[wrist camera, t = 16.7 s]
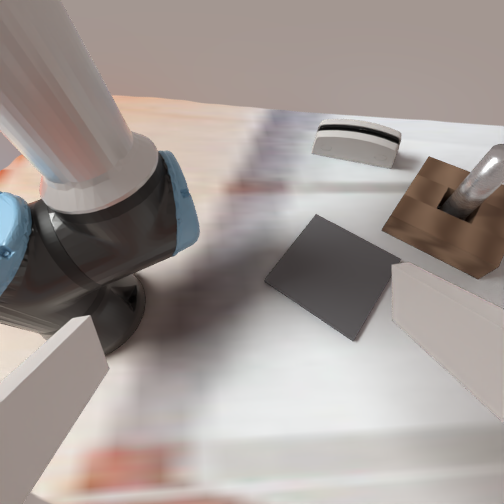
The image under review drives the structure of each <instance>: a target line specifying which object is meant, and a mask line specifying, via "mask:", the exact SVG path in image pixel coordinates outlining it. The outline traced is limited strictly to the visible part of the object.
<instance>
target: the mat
mask: <svg viewBox="0 0 504 504" xmlns="http://www.w3.org/2000/svg"><path fill="white" fill-rule="evenodd" d="M400 260H401V259H400V258H398V257H396V256H394V255H392V254H390V253H388V252H387V251H385V250H383V249H381V248H379V247H377V246H375V245H373V244H371V243H370V242H368V241H366V240H364V239H362V238H360V237H358V236H356V235H355V234H353V233H351V232H349V231H347V230H345V229H343V228H341V227H339V226H338V225H336V224H334V223H332V222H330V221H328V220H326V219H324V218H322V217H321V216H319V215H317V214H316V215H315V216H314V218H313V219H312V220H311V221H310V223H309V224H308V225H307V226H306V228H305V229H304V230H303V231H302V233H301V234H300V235H299V237H298V238H297V239H296V240H295V242H294V243H293V244H292V245H291V247H290V248H289V249H288V251H287V252H286V253H285V254H284V256H283V257H282V258H281V259H280V261H279V262H278V263H277V264H276V266H275V267H274V268H273V270H272V271H271V272H270V273H269V275H268V276H267V277H266V278H265V282H266V283H268V284H269V285H271V286H272V287H273V288H275V289H276V290H278V291H279V292H281V293H282V294H284V295H285V296H287V297H288V298H290V299H291V300H293V301H294V302H296V303H297V304H299V305H300V306H302V307H303V308H305V309H306V310H307V311H309V312H310V313H312V314H313V315H315V316H316V317H318V318H319V319H321V320H322V321H324V322H325V323H327V324H328V325H330V326H331V327H333V328H334V329H336V330H337V331H339V332H340V333H341V334H343V335H344V336H346V337H347V338H349V339H350V340H352V341H354V339H355V338H356V336H357V334H358V333H359V331H360V329H361V327H362V326H363V324H364V322H365V320H366V319H367V317H368V315H369V314H370V312H371V310H372V308H373V307H374V305H375V303H376V302H377V300H378V298H379V296H380V295H381V293H382V291H383V290H384V288H385V286H386V284H387V283H388V281H389V279H390V278H391V276H392V265H393V264H399V262H400Z"/></svg>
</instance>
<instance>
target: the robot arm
mask: <svg viewBox="0 0 504 504" xmlns="http://www.w3.org/2000/svg"><path fill="white" fill-rule="evenodd" d="M0 131H1V133H2V134H3V135H4V136H5V137H6V138H7V139H8V140H9V141H10V142H11V143H12V144H13V145H14V146H15V147H16V148H17V149H18V150H19V151H20V152H21V153H22V154H23V155H24V157H25V158H26V159H27V160H28V161H29V162H30V163H31V164H32V165H33V166H34V167H35V168H36V169H37V170H38V171H39V172H40V173H41V174H42V177H41V182H40V189H39V192H40V197H41V198H42V199H40V200H38V201H35V202H32V203H29V204H27V202H26V201H25V200H24V199H23V198H21V197H19V196H16V195H13V194H11V193H6V192H4V193H3V192H0V323H1V324H5V325H9V326H13V327H17V328H20V329H24V330H28V331H32V332H36V333H39V334H40V335H42V336H43V337H44V338H45V339H46V340H47V341H46V342H45V343H44V344H43V345H41V346H40V347H39V348H38V349H37V350H36V351H35V352H34V353H32V354H31V355H30V356H29V357H28V358H27V359H26V360H25V361H23V362H22V363H21V364H20V365H19V366H18V367H17V368H15V369H14V370H13V371H12V372H11V373H10V374H9V375H8V376H6V377H5V378H4V379H3V380H2V381H1V382H0V504H23V503H24V501H25V499H26V498H27V496H28V495H29V493H30V492H31V490H32V489H33V487H34V486H35V484H36V483H37V481H38V479H39V478H40V476H41V475H42V473H43V472H44V470H45V469H46V467H47V465H48V464H49V462H50V461H51V459H52V458H53V456H54V455H55V453H56V451H57V450H58V448H59V447H60V445H61V444H62V442H63V441H64V439H65V437H66V436H67V434H68V433H69V431H70V430H71V428H72V427H73V425H74V423H75V422H76V420H77V419H78V417H79V416H80V414H81V412H82V411H83V409H84V408H85V406H86V405H87V403H88V402H89V400H90V398H91V397H92V395H93V394H94V392H95V391H96V389H97V388H98V386H99V384H100V383H101V381H102V380H103V378H104V377H105V375H106V374H107V372H108V370H109V366H108V363H107V360H106V358H105V355H106V354H108V353H110V352H112V351H114V350H115V349H117V348H118V347H120V346H121V345H122V344H123V343H125V342H126V341H127V340H128V339H129V338H130V336H131V335H132V334H133V333H134V331H135V330H136V328H137V327H138V325H139V323H140V321H141V319H142V316H143V313H144V308H145V293H144V289H143V286H142V284H141V283H140V281H139V280H138V279H137V277H135V276H134V275H133V273H135V272H138V271H140V270H142V269H145V268H147V267H149V266H151V265H154V264H156V263H158V262H160V261H163V260H165V259H167V258H170V257H173V256H175V255H176V254H177V253H178V252H180V251H182V250H184V249H186V248H188V247H189V246H191V245H193V244H194V243H195V242H196V241H197V240H198V237H199V233H200V229H199V222H198V217H197V214H196V210H195V206H194V203H193V200H192V197H191V195H190V193H189V190H188V187H187V183H186V180H185V178H184V175H183V173H182V170H181V168H180V166H179V164H178V162H177V160H176V158H175V157H174V155H173V154H172V153H171V152H170V151H157V148H156V146H155V145H154V143H153V142H152V141H151V140H150V139H149V138H147V137H146V136H144V135H141V134H138V133H135V132H132V131H130V129H129V127H128V126H127V124H126V122H125V120H124V118H123V116H122V114H121V112H120V111H119V109H118V107H117V105H116V103H115V101H114V99H113V97H112V96H111V94H110V92H109V90H108V88H107V86H106V84H105V83H104V81H103V79H102V77H101V75H100V73H99V71H98V69H97V67H96V66H95V64H94V62H93V60H92V58H91V56H90V54H89V52H88V51H87V49H86V47H85V45H84V43H83V41H82V39H81V37H80V35H79V34H78V32H77V30H76V28H75V26H74V24H73V22H72V20H71V19H70V17H69V15H68V13H67V11H66V9H65V7H64V6H63V4H62V2H61V0H0ZM392 321H393V322H394V323H395V324H396V325H398V326H399V327H400V328H401V329H402V330H403V331H404V332H405V333H406V334H407V335H408V336H409V337H411V338H412V339H413V340H414V341H415V342H416V343H417V344H418V345H419V346H420V347H421V348H423V349H424V350H425V351H426V352H427V353H428V354H429V355H430V356H431V357H432V358H433V359H434V360H436V361H437V362H438V363H439V364H440V365H441V366H442V367H443V368H444V369H445V370H446V371H448V372H449V373H450V374H451V375H452V376H453V377H454V378H455V379H456V380H457V381H458V382H459V383H461V384H462V385H463V386H464V387H465V388H466V389H467V390H468V391H469V392H470V393H471V394H472V395H474V396H475V397H476V398H477V399H478V400H479V401H480V402H481V403H482V404H483V405H484V406H486V407H487V408H488V409H489V410H490V411H491V412H492V413H493V414H494V415H495V416H496V417H497V418H499V419H500V420H501V421H502V422H503V423H504V309H502V308H500V307H498V306H496V305H494V304H492V303H490V302H488V301H486V300H484V299H482V298H480V297H478V296H476V295H474V294H472V293H470V292H468V291H466V290H464V289H462V288H460V287H458V286H456V285H454V284H452V283H450V282H448V281H446V280H444V279H442V278H440V277H438V276H436V275H434V274H432V273H430V272H428V271H426V270H424V269H422V268H420V267H418V266H416V265H414V264H412V263H410V262H405V263H399V264H393V265H392Z"/></svg>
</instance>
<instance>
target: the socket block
mask: <svg viewBox="0 0 504 504" xmlns="http://www.w3.org/2000/svg"><path fill="white" fill-rule="evenodd" d="M470 173H471V172H468V171H466V170H463V169H461V168H458V167H455V166H453V165H450V164H448V163H445V162H442V161H440V160H437V159H435V158H432V157H428V159H427V160H426V162H425V163H424V165H423V166H422V168H421V170H420V171H419V173H418V174H417V176H416V177H415V179H414V180H413V182H412V183H411V185H410V186H409V188H408V190H407V191H406V193H405V194H404V196H403V197H402V199H401V200H400V202H399V203H398V205H397V207H396V208H395V210H394V211H393V213H392V214H391V216H390V217H389V219H388V221H387V222H386V224H385V225H384V227H383V229H382V231H384V232H386V233H388V234H390V235H392V236H394V237H396V238H398V239H400V240H402V241H404V242H406V243H407V244H409V245H411V246H413V247H415V248H417V249H419V250H421V251H423V252H425V253H427V254H429V255H431V256H433V257H435V258H437V259H439V260H441V261H443V262H445V263H447V264H449V265H451V266H453V267H455V268H457V269H459V270H461V271H463V272H465V273H467V274H469V275H471V276H473V277H475V278H477V279H479V278H481V277H483V276H484V275H486V274H488V273H489V272H491V271H493V270H494V269H496V268H498V267H499V265H500V262H501V260H502V258H503V255H504V185H502V184H501V185H500V186H499V187H498V188H497V189H496V190H495V191H494V192H493V193H492V194H491V195H490V196H489V197H488V198H487V199H486V200H485V201H483V202H482V203H481V204H480V205H479V206H478V207H477V208H476V209H475V210H474V211H473V212H472V213H471V214H470V215H469V216H468V217H467V218H466V219H465V220H464V221H463V220H461V219H459V218H457V217H454V216H452V215H450V214H448V213H445V212H443V211H441V210H439V209H436V208H437V206H442V205H443V204H444V203H445V202H446V200H447V199H448V198H449V197H450V196H451V195H452V193H453V192H454V191H455V190H456V189H457V188H458V187H459V185H460V184H461V183H462V182H463V181H464V180H465V178H466V177H467V176H468V175H469V174H470Z"/></svg>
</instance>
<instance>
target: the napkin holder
mask: <svg viewBox="0 0 504 504" xmlns="http://www.w3.org/2000/svg"><path fill="white" fill-rule="evenodd" d="M400 142H401V133H400V132H399V131H396V130H394V129H391V128H389V127H386V126H383V125H379V124H375V123H371V122H366V121H359V120H350V119H327V120H323V121H321V123H320V125H319V127H318V131H317V134H316V137H315V140H314V144H313V147H312V154H316V155H321V156H326V157H331V158H337V159H342V160H347V161H352V162H358V163H363V164H368V165H373V166H378V167H384V168H389V169H391V167H392V165H393V163H394V160H395V158H396V155H397V152H398V149H399V145H400Z"/></svg>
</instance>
